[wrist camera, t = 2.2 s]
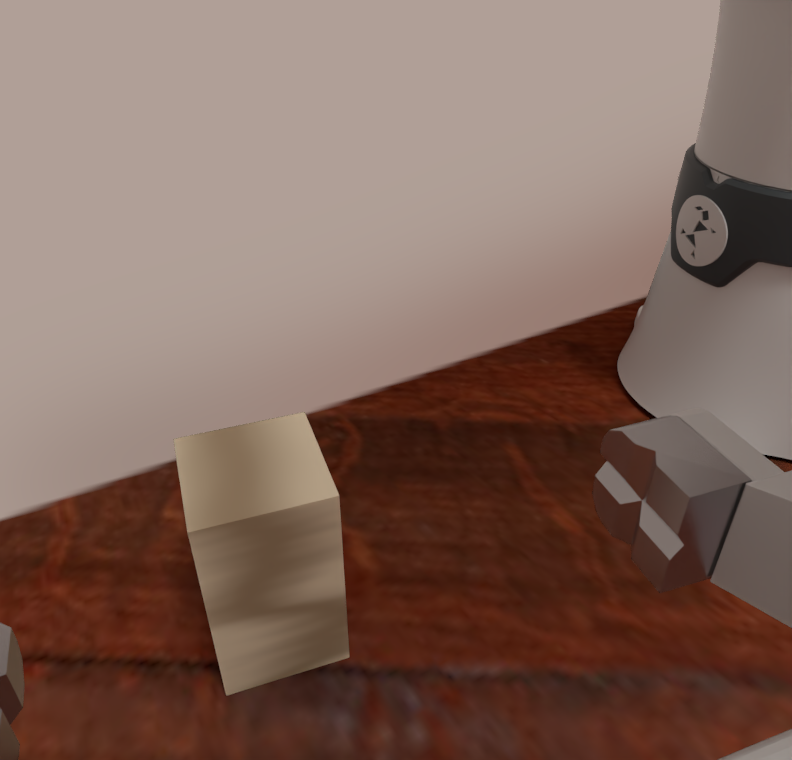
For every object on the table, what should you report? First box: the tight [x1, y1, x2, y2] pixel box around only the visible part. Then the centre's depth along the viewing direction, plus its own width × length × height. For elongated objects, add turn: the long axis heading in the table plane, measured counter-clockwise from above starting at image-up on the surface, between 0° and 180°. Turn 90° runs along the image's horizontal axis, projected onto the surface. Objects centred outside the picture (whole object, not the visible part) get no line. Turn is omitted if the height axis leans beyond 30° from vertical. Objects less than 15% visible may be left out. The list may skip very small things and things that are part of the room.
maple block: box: [173, 412, 349, 696], centre depth 28 cm, size 5×5×9 cm
